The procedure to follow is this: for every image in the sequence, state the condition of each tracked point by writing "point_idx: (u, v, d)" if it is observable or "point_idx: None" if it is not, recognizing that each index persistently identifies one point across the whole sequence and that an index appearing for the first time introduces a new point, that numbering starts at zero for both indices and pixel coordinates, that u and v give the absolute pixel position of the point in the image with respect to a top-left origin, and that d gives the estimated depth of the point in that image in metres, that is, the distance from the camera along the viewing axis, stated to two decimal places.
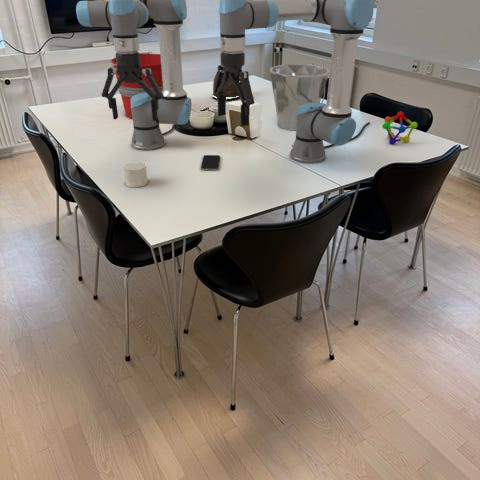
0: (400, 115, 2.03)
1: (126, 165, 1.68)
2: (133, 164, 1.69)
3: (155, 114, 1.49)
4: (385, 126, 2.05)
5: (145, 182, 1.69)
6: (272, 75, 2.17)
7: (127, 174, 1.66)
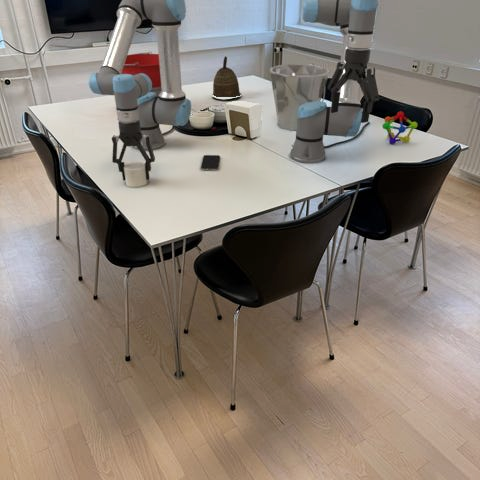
0: (400, 115, 2.03)
1: (126, 165, 1.68)
2: (133, 164, 1.69)
3: (148, 174, 1.70)
4: (385, 126, 2.05)
5: (145, 182, 1.69)
6: (272, 75, 2.17)
7: (127, 174, 1.66)
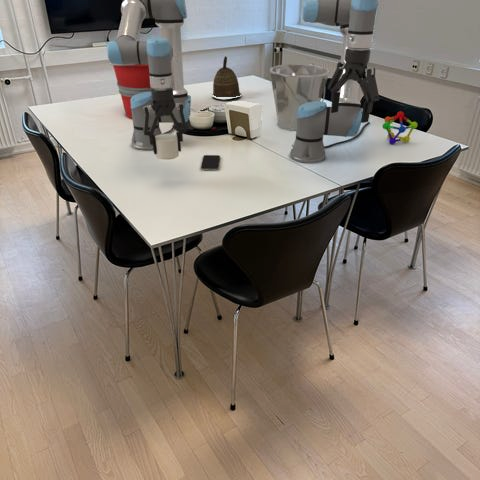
0: (400, 115, 2.03)
1: (157, 137, 1.59)
2: (163, 135, 1.61)
3: None
4: (385, 126, 2.05)
5: (178, 154, 1.63)
6: (272, 75, 2.17)
7: (161, 146, 1.58)
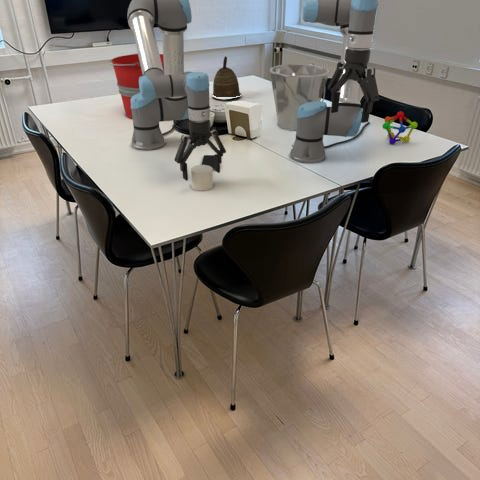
0: (400, 115, 2.03)
1: (193, 170, 1.64)
2: (198, 167, 1.66)
3: None
4: (385, 126, 2.05)
5: None
6: (272, 75, 2.17)
7: (200, 178, 1.63)
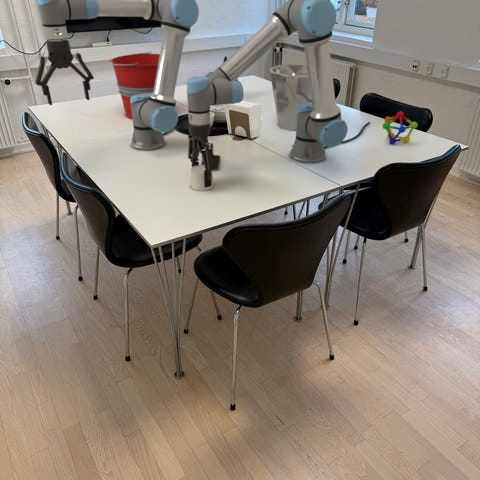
0: (400, 115, 2.03)
1: (193, 170, 1.64)
2: (198, 167, 1.66)
3: None
4: (385, 126, 2.05)
5: None
6: (272, 75, 2.17)
7: (200, 178, 1.63)
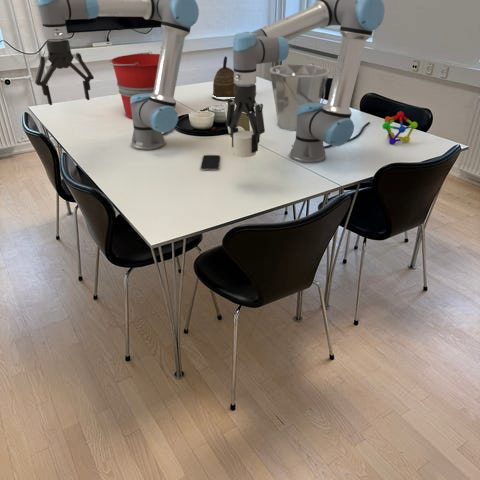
0: (400, 115, 2.03)
1: (237, 136, 1.55)
2: (240, 133, 1.58)
3: None
4: (385, 126, 2.05)
5: None
6: (272, 75, 2.17)
7: (247, 143, 1.55)
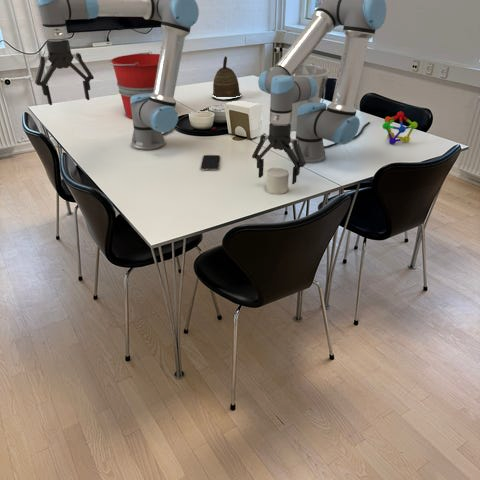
0: (400, 115, 2.03)
1: (272, 174, 1.61)
2: (272, 171, 1.63)
3: None
4: (385, 126, 2.05)
5: None
6: None
7: (282, 181, 1.61)
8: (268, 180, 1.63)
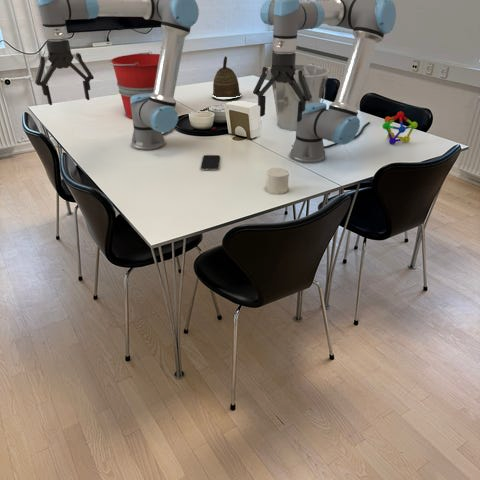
0: (400, 115, 2.03)
1: (272, 174, 1.61)
2: (272, 171, 1.63)
3: None
4: (385, 126, 2.05)
5: None
6: (272, 75, 2.17)
7: (282, 181, 1.61)
8: (268, 180, 1.63)
